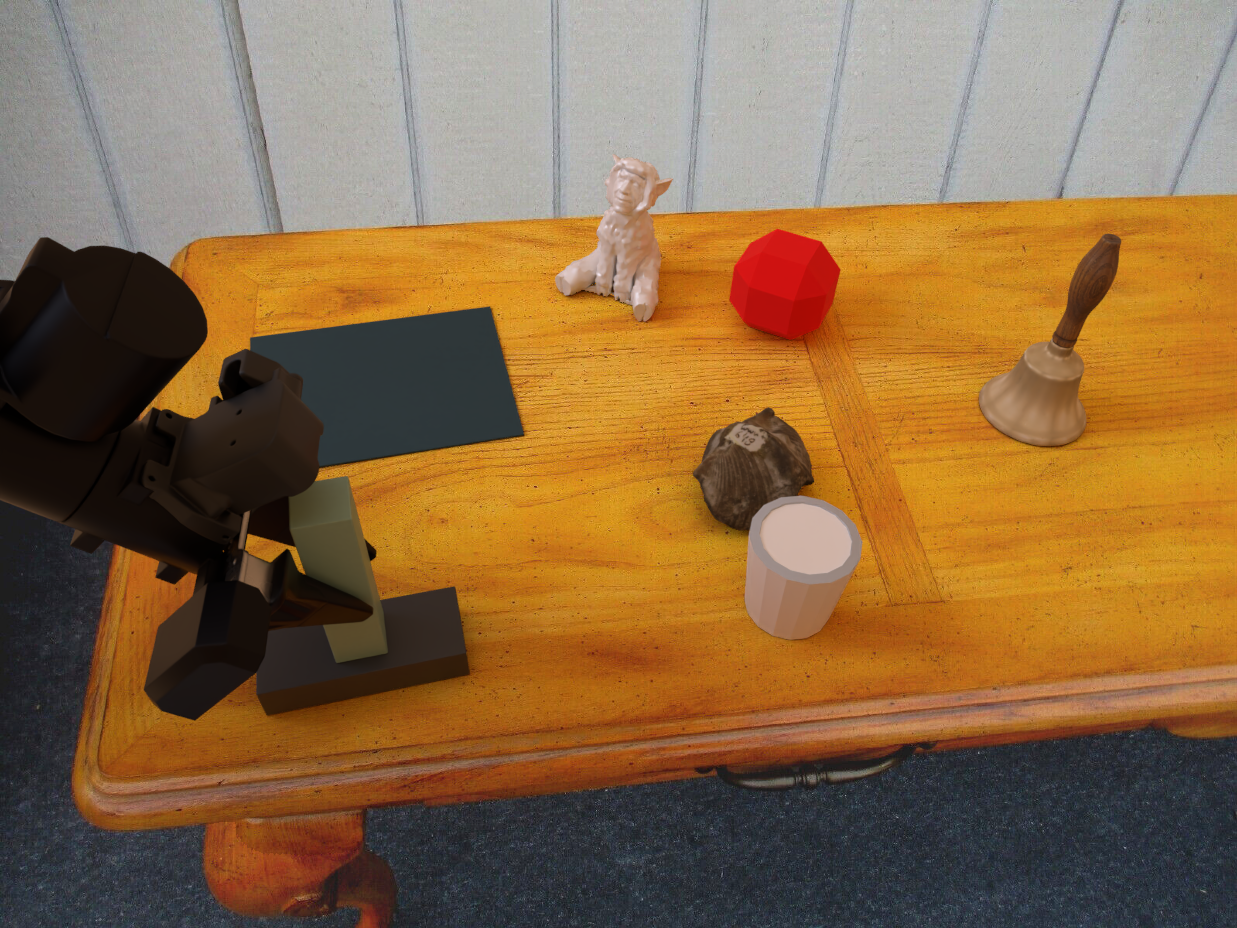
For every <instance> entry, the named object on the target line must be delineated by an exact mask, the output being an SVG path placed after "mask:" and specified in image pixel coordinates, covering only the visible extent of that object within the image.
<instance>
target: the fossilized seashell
mask: <svg viewBox="0 0 1237 928" xmlns="http://www.w3.org/2000/svg"><path fill="white" fill-rule="evenodd" d="M775 412H776V411H775V410H774V409H773V408H771V407H769V406H768V407H766V408H764V409H762V410H761V411H760V412H758V413H756V414H755V415H753V416H750V417H748V418H746V419H744V420H742V421H735V422H733V423H730V424H728V425H727V426H726V427H723V428H719V429H717V430H715V431H714V432H713V433H712V435H711V436H710V437H709V439H708V441H707V443H706V445H705V449H704V451H703V455H702V458H701V463H699V464H698V466H697V467H696V468H695V469H694V470H693V472H692V476H693V477H694V478H695V479H696V481H697V482H698V483H699V487H700V489H701V492H702V494H703V500H704V503H705V505H706V507H707V509H708V511H709V513H710V514H711V515H712V517H713V518H714V519H715V520H716V521H717V522H720V523H721V524H722V525H725V526H726V527H729V528H731V529H733V530H737V531H750V527H751V522H752V518H753V517H754V516H755V515H756V513H757V512H758V511H759V510H760V509H761V508H762V507H763V505H765V504H767V503H770V502H772V501H774V500H776V499H778V498H781V497H791V496H798V494H799V493H800V492H801V490H802V488H804V487H806V486H811V485H813V484H814V483H815V478H814V476H813V471H812V466H813V465H812V462H811V456H810V454H809V452H808V450H807V448H806V446H805V443H804V441H803V439H802V437H801V435H800V433H798V431H797V430H796V429H795V428H794V426H792V425H790V424H789V423H787V422H786V421H785V420H783V419H782V418H780V417H779V416H777V415H776V413H775Z"/></svg>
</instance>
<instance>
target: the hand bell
mask: <svg viewBox="0 0 1237 928" xmlns="http://www.w3.org/2000/svg"><path fill="white" fill-rule="evenodd" d="M1121 245H1122V239H1121V237H1119V236H1118V235H1116V234H1114V233H1104V234H1103V235H1102V236H1100V238H1099V239H1098V241H1097V242H1096V243H1095V245H1093V247H1092V248H1090V249H1089V251H1087V252H1086V254H1085V255H1084V256H1083V257H1082V258H1081V260H1080V261H1079V262H1078V265H1077V266H1076V268H1075V270H1074V273H1073V275H1072V277H1071V281H1070V283H1069V287H1068V292H1067V302H1066V307H1065V310H1064V312H1063V314H1062V317H1061V319H1060V321H1059V322H1058V324H1057V326H1056V328H1055V330H1054V332H1053V333H1052V336H1051V339H1050V340H1049V341H1038V342H1035V343H1032V344H1031V345H1030V346H1028V347H1027V348H1026V349H1025V350H1024V352H1023V354H1022V355H1021V356H1020V359H1019V360H1018V361H1017V363H1016V364H1015V365H1014V367H1013V368H1011V370H1009V371H1008V372H1004V373H1001V374H998V375H995V376H994V377H992V378H991V379H989V380H988V381H987V382H985V383H984V385H983V386H982V387H981V389H980V390H979V394H978V405H979V408H980V410H981V412H982V414H983V416H984V418H985V419H986V420H987V421H988V422H989V423H990V424H991V425H992V426H993V427H994V428H995V429H996V430H998V431H999V432H1001V433H1002V434H1003V435H1006V436H1008V437H1010V438H1012V439H1014V440H1017V441H1018V442H1021V443H1025V444H1028V445H1032V446H1038V447H1054V446H1064V445H1066V444H1069V443H1073V442H1074V441H1076V440H1077V439H1078V438H1080V437H1081V435H1082V434H1083V433H1084V432H1085V429H1086V426H1087V414H1086V408H1085V407H1084V404H1083V402H1082V401H1081V399H1080V398H1079V389H1080V386H1081V385H1080V384H1081V382H1082V379H1083V376H1084V373H1085V362H1084V360H1083V357H1082V356H1081V355H1080V354H1079V353H1078V352H1076V351H1075V350H1074V348H1075V346H1076V344H1077V342H1078V338H1079V337H1080V334H1081V332H1082V329H1083V327H1084V325H1085V322H1086V320H1087V318H1088V317H1089V315H1090V314H1091V313H1092V312H1093V311H1094V310H1095V309H1096V308H1097V307H1098V306H1099V304H1100V303H1101V302H1103V300H1104V298H1105V297H1106V296H1107V294H1108V293H1109V291H1110V289H1111V287H1112V285H1113V283H1114V281H1115V278H1116V276H1117V274H1118V268H1119V263H1120V250H1121Z"/></svg>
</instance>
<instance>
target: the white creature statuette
mask: <svg viewBox="0 0 1237 928" xmlns="http://www.w3.org/2000/svg"><path fill="white" fill-rule="evenodd" d="M612 157H613V160H614V165H613V166H612V168H611V169H610V170H609V176H608V177H607V178H606V179H605V180H604V185H605V186H606V195H605V199H606V200H607V201H608V203H609V204H610V206H609V208H608V209H605V210H604V212H603V217H602V218H601V220H600V222H599V224H598V227H597V230H596V232H595V234H596V237H597V238H598V241H597V246H596V248H595V249H594V250H593V251H592V252H590V253H589V254H588V255H586V256H583V257H582V258H580V259H577V260H575V259H574V260H573V261H572V262H570V264H568V265H566V266H565V268H564V269H563V270H562V271H560V272H559V273H558V274H556V275H555V277H554V283H555V285H556V288H557V290H558V291H559V292H560V293H563V296H564V295H565V296H570V295H571V296H573V295H576V294H577V293H579V292H582V291H581V290H585V291H584V292H587V291H589V292H588V293H591V292H594V293H593V294H595V293H597V294H596V295H597V296H601V294H602V296H603V297H604V296H606V297H609V296H610V295H609V294H612V295H614V296H613V297H614V300H615V301H616V300H617V301H618V300H619V303H620V302H622V303H621V304H627V305H630V306H632V311H633V316H634V318H635V319H636V320H637V321H638V322H641V321H643V322H645V323H646V322H647V321H649V319H651V317H652V316H653V315H654V313H655V309H656V307H657V306H658V305H659V294H658V291H659V288H660V286H659V281H660V270H661V264H662V262H661V261H662V253H661V250H660V246H659V242H658V238H656V236H655V231H656V229H655V227H654V221H655V220H654V219H653V217H652V216H651V215H650V213H649V210H650V209H651V208H652V207H654V206H655V205H656V203H657V200H658V199H659V197H660V196H662V195H663V194H665V193H666V192H667V191H668V190H669V188H670V186H671V184H672V182H673V181H674V178H672V177H667V178H663V179H660V174H659V173H658V170H657V168H656V167H655V166H654V165H653V164H652V163H651V162H647V161H642V160H640V159H639V158H635V157H632V156H631V157H630V156H627V157H625V158H624V157H621V158H620V156H618V155H616V154H614V153H612ZM595 283H596V284H595ZM592 284H594V285H592ZM591 285H592V286H591ZM613 291H614V292H613ZM576 292H577V293H576ZM608 295H609V296H608ZM612 295H611V296H612ZM623 302H624V303H623Z"/></svg>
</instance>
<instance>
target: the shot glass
mask: <svg viewBox="0 0 1237 928" xmlns="http://www.w3.org/2000/svg"><path fill="white" fill-rule="evenodd" d="M862 548H863V539H862V538H861V536H860V532H859V529H858V527H857V524H856V523H855V522H854V521H853V520H852V519H851V518H850V517H849V516H848V515H847V514H846V513H845V512H844V511H843V510H842V509H840V508H838V507H837V506H834V505H833V504H831V503H829V502H828V501H825V500H824V499H820V498H815V497H810V496H806V495H797V496H791V497H781V498H778V499H776V500H774V501H772V502H770V503H767V504H765V505H763V507H762V508H761V509H760V510H759V511H758V512H757V513H756V515H755V516H754V517H753V518H752V522H751V527H750V530H749V531H748V542H747V555H746V556H747V558H746V570H745V572H746V573H745V585H744V586H745V587H744V604H745V608H746V612H747V615H748V616H749V617H750V618H751V620H752V621H753V622H754V624H755V625H756V626H757V627H758V628H759V629H761V630H762V631H764V632H766V633H767V634H769V635H771V636H772V637H776V638H779V639H780V638H781V639H784V640H788V641H791V640H802V639H808V638H810V637H811V636H813V635H815V634H817V633H819V632H821V630H822V629H823V628H824V627H825V625H826V624H827V622H828V621H829V619H830V617H831V616H832V613H833V612H834V610H835V608H836V607H837V605H838V602H839V601H840V599H841V597H842V595H843V593H844V591H845V589H846V587H847V585H848V583H849V582H850V580H851V578H852V576H853V575H854V572H855V570H856V568H857V567H858V565H859V563H860V561H861V557H862V550H863V549H862Z"/></svg>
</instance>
